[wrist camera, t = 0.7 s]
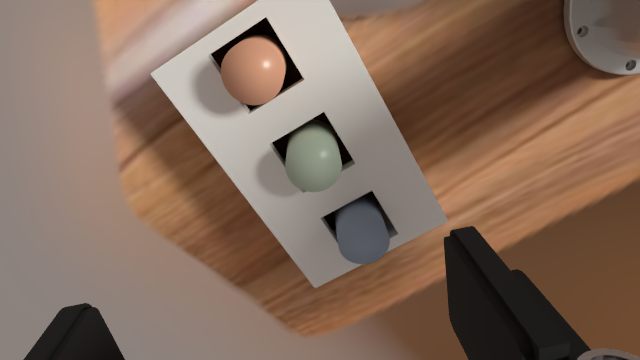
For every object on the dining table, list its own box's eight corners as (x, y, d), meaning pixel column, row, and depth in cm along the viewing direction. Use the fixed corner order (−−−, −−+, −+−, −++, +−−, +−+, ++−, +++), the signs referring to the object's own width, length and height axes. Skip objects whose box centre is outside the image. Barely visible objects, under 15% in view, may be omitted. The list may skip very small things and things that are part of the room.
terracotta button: (267, 23, 29) (260, 28, 25) (297, 71, 31) (295, 84, 26) (222, 53, 30) (208, 63, 26) (253, 99, 32) (244, 116, 27)
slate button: (365, 183, 35) (374, 211, 30) (386, 217, 36) (398, 249, 32) (325, 205, 36) (328, 236, 31) (347, 238, 37) (353, 272, 33)
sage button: (320, 110, 32) (323, 129, 28) (345, 150, 34) (352, 175, 29) (278, 135, 33) (274, 158, 28) (304, 174, 34) (304, 201, 30)
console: (309, -30, 31) (310, -35, 26) (428, 189, 39) (448, 221, 34) (175, 61, 34) (149, 73, 28) (313, 250, 42) (314, 288, 36)
